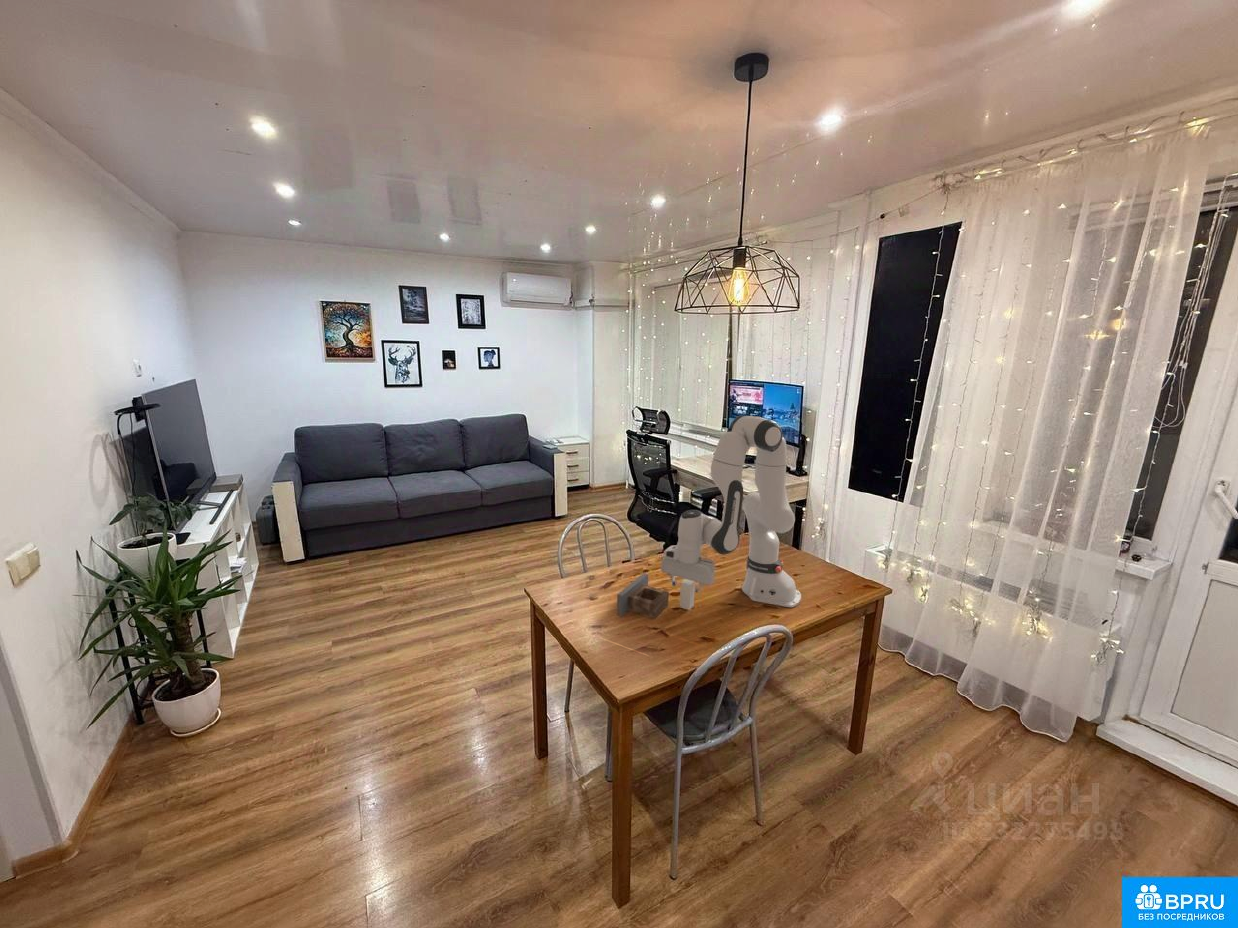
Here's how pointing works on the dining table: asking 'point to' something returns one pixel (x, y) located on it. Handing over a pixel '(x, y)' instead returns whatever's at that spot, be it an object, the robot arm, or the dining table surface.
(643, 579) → the wall
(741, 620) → the dining table surface
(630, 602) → the brown square open box
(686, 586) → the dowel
